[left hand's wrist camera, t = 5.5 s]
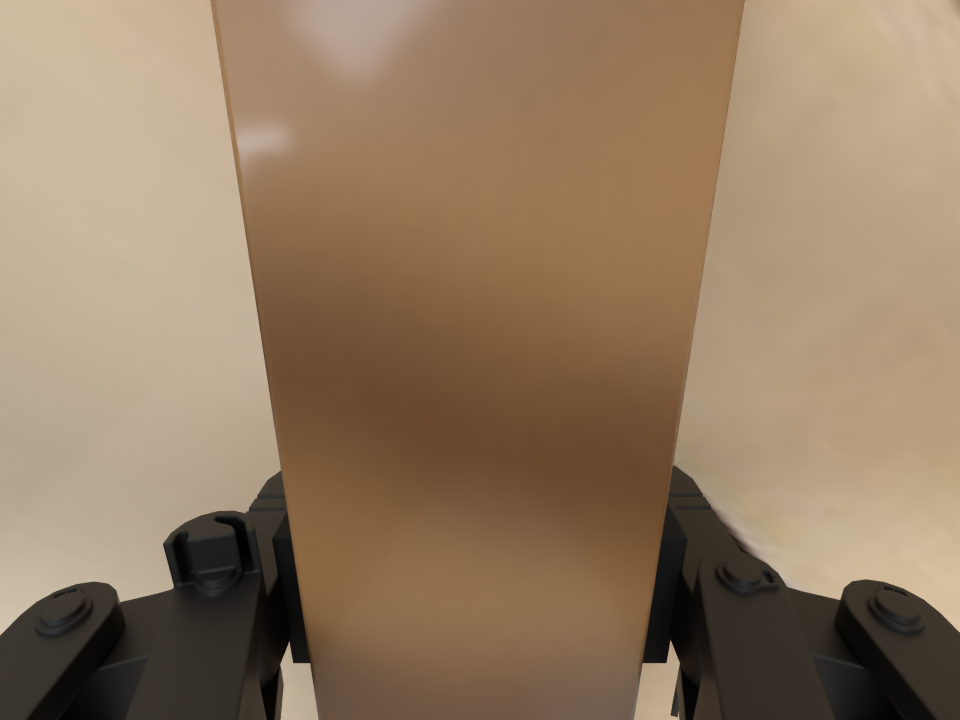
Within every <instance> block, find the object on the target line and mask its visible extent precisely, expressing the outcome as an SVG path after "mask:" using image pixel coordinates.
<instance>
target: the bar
mask: <svg viewBox="0 0 960 720" xmlns="http://www.w3.org/2000/svg"><path fill="white" fill-rule="evenodd" d="M211 6H212V13H213V20H214V26H215V33H216V40H217V46H218V53H219V59H220V66H221V73H222V79H223V86H224V93H225V99H226V106H227V113H228V119H229V126H230V133H231V139H232V146H233V153H234V159H235V166H236V173H237V179H238V186H239V192H240V199H241V206H242V212H243V219H244V226H245V232H246V239H247V246H248V252H249V259H250V266H251V272H252V279H253V286H254V292H255V299H256V306H257V312H258V319H259V325H260V332H261V339H262V345H263V352H264V359H265V365H266V372H267V379H268V385H269V392H270V399H271V405H272V412H273V419H274V425H275V432H276V438H277V445H278V452H279V458H280V465H281V472H282V478H283V485H284V492H285V498H286V505H287V512H288V518H289V525H290V532H291V538H292V545H293V552H294V558H295V565H296V571H297V578H298V585H299V591H300V598H301V605H302V611H303V618H304V625H305V631H306V638H307V645H308V651H309V658H310V665H311V671H312V678H313V685H314V691H315V698H316V704H317V711H318V718H319V720H634V714H635V708H636V701H637V695H638V688H639V682H640V676H641V669H642V663H643V656H644V650H645V643H646V637H647V630H648V624H649V617H650V611H651V604H652V598H653V591H654V585H655V578H656V572H657V565H658V559H659V552H660V546H661V539H662V533H663V526H664V520H665V513H666V507H667V500H668V494H669V487H670V481H671V474H672V468H673V461H674V455H675V448H676V442H677V435H678V429H679V422H680V416H681V409H682V403H683V396H684V390H685V383H686V377H687V370H688V364H689V357H690V351H691V344H692V338H693V331H694V325H695V318H696V312H697V306H698V299H699V293H700V286H701V280H702V273H703V267H704V260H705V254H706V247H707V241H708V234H709V228H710V221H711V215H712V208H713V202H714V195H715V189H716V182H717V176H718V169H719V163H720V156H721V150H722V143H723V137H724V130H725V124H726V117H727V111H728V104H729V98H730V91H731V85H732V78H733V72H734V65H735V59H736V52H737V46H738V39H739V33H740V26H741V20H742V13H743V7H744V0H211Z"/></svg>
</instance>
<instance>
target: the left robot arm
mask: <svg viewBox="0 0 960 720" xmlns="http://www.w3.org/2000/svg"><path fill="white" fill-rule="evenodd" d="M163 546H164V550H165V554H166V558H167V561H168V565H169V569H170V573H171V576H172V580H173V584H174V588H173V589H171V590H168V591H165V592H162V593H158V594H154V595H150V596H145V597H141V598H137V599H132V600H128V601H124V602H120V601H119V598H118V595H117V591H116V590H115V589H114V588H113V587H112V586H110V585H109V584H107V583H100V582H88V583H81V584H76V585H73V586H70V587H67V588H64V589H61V590H58V591H56V592H54V593H52V594H50V595H49V596H47V597H45V598H43V599H41V600H40V601H38V602H36V603H35V604H34V605H32V606H31V607H30V608H29V609H28V610H26V611H25V612H24V613H23V614H21V615H20V616H19V617H18V618H17V619H16V620H15V621H14V622H13V623H12V624H11V625H10V626H9V627H8V628H7V629H6V630H5V631H4V632H3V633H2V634H1V635H0V720H281V708H282V697H283V686H284V684H283V678H282V671H281V666H280V663H281V661H282V658H283V656H284V653H285V651H286V648H287V646H288V643H289V641H290V647H291V653H292V658H293V663H310V658H309V651H308V645H307V638H306V631H305V625H304V618H303V611H302V605H301V598H300V591H299V585H298V578H297V571H296V565H295V558H294V552H293V545H292V538H291V532H290V525H289V518H288V512H287V505H286V498H285V492H284V485H283V478H282V472H281V471H280V472H278V473H277V474H276V475H274V476H273V477H272V478H270V479H269V480H267V482H266V483H265V485H264V486H263V488H262V489H261V491H260V492H259V494H258V495H257V499H255V500H254V502H253V503H252V505H251V506H250V508H249V511H247V512H246V514H245V513H241V512H237V511H217V512H213V513H209V514H205V515H201V516H199V517H197V518H194V519H192V520H190V521H188V522H186V523H184V524H183V525H181V526H180V527H179V528H177V529H176V530H175V531H173V532H172V533H171V534H170V535H169V537H168V538H167V539H166V541H165V542H164V543H163ZM670 639H671V642H672V644H673V647H674V649H675V652H676V654H677V657H678V659H679V662H680V666H679V671H678V677H677V682H676V688H675V693H674V698H673V704H672V710H671V716H675V717H678V712H679V718H680V720H960V633H959V632H958V631H957V630H956V629H955V628H954V627H953V625H952V624H951V623H950V622H949V621H948V620H947V619H946V618H945V617H944V616H943V615H942V614H941V613H939V612H938V611H937V610H936V609H935V608H933V607H932V606H931V605H930V604H928V603H927V602H926V601H925V600H923V599H921V598H920V597H918V596H916V595H914V594H912V593H910V592H909V591H907V590H905V589H903V588H900V587H897V586H894V585H891V584H888V583H885V582H880V581H873V580H866V579H865V580H859V581H852V582H851V583H850V584H848V585H847V586H846V587H845V588H844V590H843V593H842V596H841V600H837V599H833V598H828V597H824V596H820V595H815V594H811V593H807V592H802V591H799V590H795V589H792V588H789V587H786V585H785V583H784V581H783V580H782V578H781V577H780V575H779V574H778V573H777V572H776V571H775V570H774V569H772V568H771V567H770V566H769V565H768V564H766V563H765V562H763V561H761V560H759V559H757V558H755V557H753V556H751V555H749V554H745V553H742V552H741V551H740V549H739V548H738V546H737V545H736V543H735V542H734V540H733V539H732V537H731V536H730V534H729V533H728V531H727V530H726V528H725V527H724V525H723V524H722V522H721V521H720V519H719V518H718V516H717V515H716V513H715V512H714V510H711V506H710V504H709V503H708V501H707V500H706V498H705V497H703V494H702V492H701V491H700V489H699V488H698V486H697V485H696V483H695V482H694V480H693V479H692V478H691V477H689V476H688V475H687V474H685V473H684V472H682V471H681V470H680V469H678V468H677V467H676V466H673V468H672V474H671V481H670V487H669V494H668V500H667V507H666V513H665V520H664V526H663V533H662V539H661V546H660V552H659V559H658V565H657V572H656V578H655V585H654V591H653V598H652V604H651V611H650V617H649V624H648V630H647V637H646V643H645V650H644V656H643V663H666V662H667V657H668V651H669V645H670Z"/></svg>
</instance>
